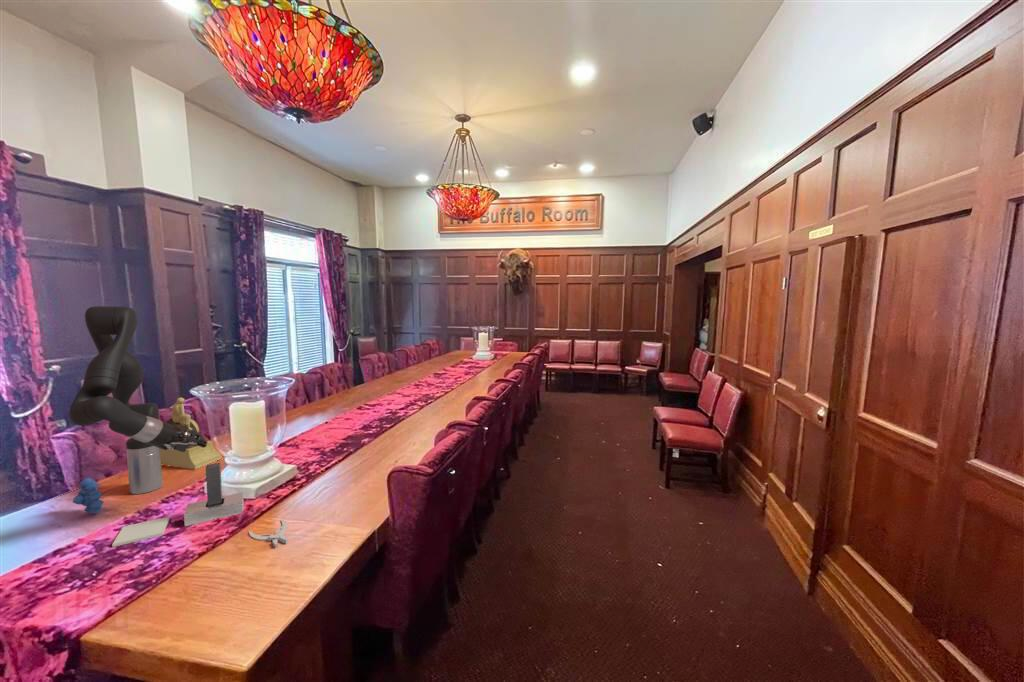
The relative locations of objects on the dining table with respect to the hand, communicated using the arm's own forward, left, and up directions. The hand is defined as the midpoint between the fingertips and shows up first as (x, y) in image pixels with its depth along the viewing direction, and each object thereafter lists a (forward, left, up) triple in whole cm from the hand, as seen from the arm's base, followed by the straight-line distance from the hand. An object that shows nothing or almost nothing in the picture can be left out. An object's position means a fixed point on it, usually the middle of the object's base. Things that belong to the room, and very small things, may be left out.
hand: (195, 447), depth 137 cm
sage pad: (+16, -12, -20) cm, 28 cm away
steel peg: (+15, +6, -20) cm, 25 cm away
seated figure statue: (-49, -10, -20) cm, 54 cm away
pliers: (+40, +22, -21) cm, 50 cm away
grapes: (-8, -30, -20) cm, 37 cm away
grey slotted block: (+15, +6, -20) cm, 25 cm away
